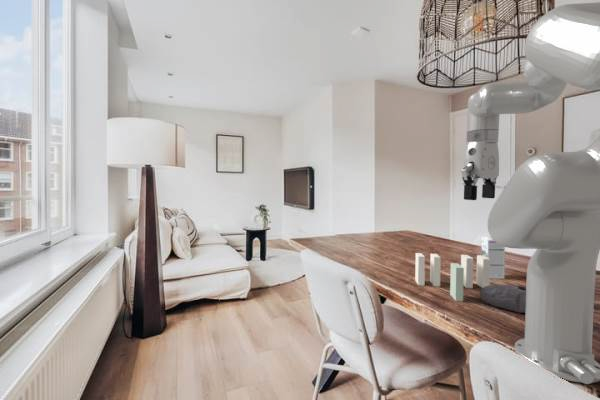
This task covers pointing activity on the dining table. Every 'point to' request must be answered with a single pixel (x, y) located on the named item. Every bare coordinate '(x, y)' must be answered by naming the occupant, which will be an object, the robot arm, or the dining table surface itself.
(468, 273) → the domino
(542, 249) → the robot arm
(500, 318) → the dining table surface
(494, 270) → the syrup box
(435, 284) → the domino
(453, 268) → the domino
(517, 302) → the perforated stone tool
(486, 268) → the domino
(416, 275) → the domino
